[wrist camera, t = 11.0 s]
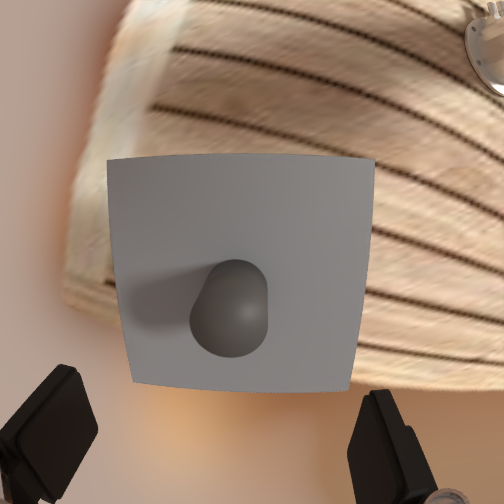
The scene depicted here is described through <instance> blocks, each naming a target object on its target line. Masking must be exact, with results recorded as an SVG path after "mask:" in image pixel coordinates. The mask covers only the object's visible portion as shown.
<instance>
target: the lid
mask: <svg viewBox="0 0 504 504" xmlns="http://www.w3.org/2000/svg"><path fill="white" fill-rule="evenodd" d="M374 174H375V159H364V158H352V157H337V156H319V155H296V154H193V155H170V156H152V157H138V158H125V159H114V160H107V186H108V208H109V223H110V236H111V247H112V257H113V266H114V275H115V283H116V291H117V298H118V304H119V311H120V317H121V323H122V329H123V335H124V340H125V345H126V350H127V356H128V361H129V365H130V370H131V375H132V379H133V382H136V383H143V384H151V385H159V386H167V387H177V388H188V389H200V390H213V391H230V392H257V393H307V392H334V391H348V389H349V384H350V379H351V374H352V369H353V364H354V358H355V353H356V347H357V341H358V336H359V329H360V323H361V316H362V310H363V303H364V295H365V287H366V279H367V270H368V261H369V251H370V240H371V228H372V214H373V197H374Z"/></svg>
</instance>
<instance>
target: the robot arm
mask: <svg viewBox="0 0 504 504" xmlns="http://www.w3.org/2000/svg"><path fill="white" fill-rule="evenodd" d="M487 5H488V9H489V12H490V15H489V17H488V18H483V17H481V18H476V19H475V20H473V21H471V22H470V23H469V24H468V26H467V28H466V31H465V47H466V51H467V54H468V57H469V59H470V62H471V64H472V66H473V68H474V69H475V71H476V73H477V74H478V76H479V77H480V79H481V80H482V81H483V82H484V83H485V84H486V85H487V86H488V87H489V88H490V89H491V90H492V91H494V92H495V93H497V94H499V95H501V96H503V97H504V2H502V1H499V2H497V3H496V5H497V9H498V13H499V15H500V16H498V15H497V10H496V6H495V4H494V3H492V2H489V3H487ZM97 433H98V425H97V422H96V420H95V417H94V414H93V412H92V408H91V406H90V403H89V400H88V397H87V394H86V391H85V388H84V385H83V381H82V378H81V375H80V373H79V372H77V370H76V368H75V367H71V366H67V365H63V364H60V365H58V366H57V367H56V368H55V369H54V370H53V371H52V372H51V373H50V374H49V375H48V376H47V378H46V379H45V380H44V381H43V382H42V383H41V384H40V385H39V386H38V387H37V389H36V390H35V391H34V392H33V393H32V394H31V395H30V396H29V397H28V399H27V400H26V401H25V402H24V403H23V404H22V405H21V407H20V408H19V409H18V410H17V411H16V412H15V414H14V415H13V416H12V417H11V418H10V419H9V420H8V422H7V423H6V424H5V425H4V427H3V428H2V429H1V430H0V504H38V501H39V500H40V498H41V499H42V500H44V501H46V502H48V503H51V504H55V502H56V500H57V499H61V497H62V496H63V494H64V492H65V491H66V489H67V487H68V485H69V483H70V481H71V479H72V478H73V476H74V474H75V472H76V471H77V469H78V467H79V465H80V463H81V462H82V460H83V458H84V456H85V455H86V453H87V451H88V449H89V448H90V446H91V444H92V442H93V441H94V439H95V437H96V435H97ZM347 457H348V462H349V468H350V473H351V478H352V483H353V489H354V494H355V499H356V504H470V502H469V500H468V498H467V497H466V496H465V495H464V494H463V493H462V492H460V491H458V490H456V489H451V488H444V489H440V490H438V487H437V485H436V482H435V480H434V477H433V475H432V472H431V470H430V467H429V465H428V463H427V460H426V458H425V455H424V453H423V451H422V448H421V446H420V444H419V441H418V439H417V437H416V434H415V432H414V430H413V429H412V427H411V426H409V425H408V426H405V424H404V422H403V419H402V417H401V415H400V413H399V410H398V408H397V406H396V403H395V401H394V399H393V397H392V394H391V392H390V391H389V390H388V389H383V390H371V391H370V393H369V395H365V396H364V398H363V401H362V404H361V408H360V411H359V415H358V418H357V421H356V424H355V428H354V431H353V434H352V437H351V440H350V443H349V446H348V450H347Z"/></svg>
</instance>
